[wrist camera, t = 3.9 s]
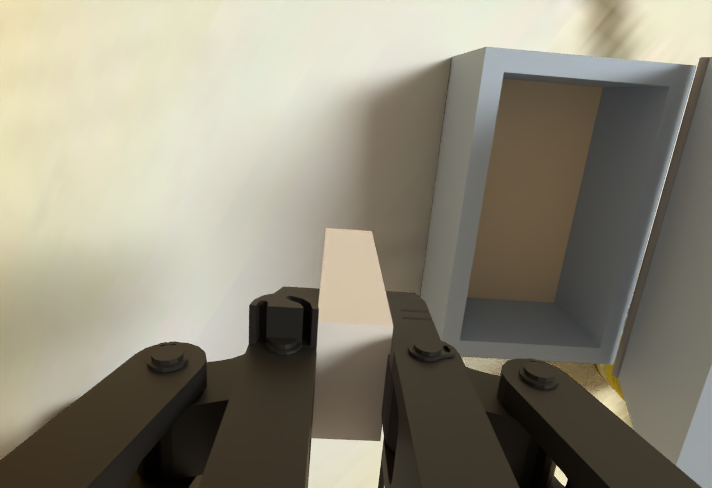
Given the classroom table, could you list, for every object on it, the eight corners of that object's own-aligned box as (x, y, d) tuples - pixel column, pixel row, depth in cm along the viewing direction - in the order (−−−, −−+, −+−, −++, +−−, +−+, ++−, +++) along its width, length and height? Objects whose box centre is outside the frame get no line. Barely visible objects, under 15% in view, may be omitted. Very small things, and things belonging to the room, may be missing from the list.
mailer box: (419, 302, 33) (439, 355, 26) (451, 57, 28) (486, 46, 22) (558, 310, 34) (612, 364, 27) (614, 71, 29) (696, 65, 22)
